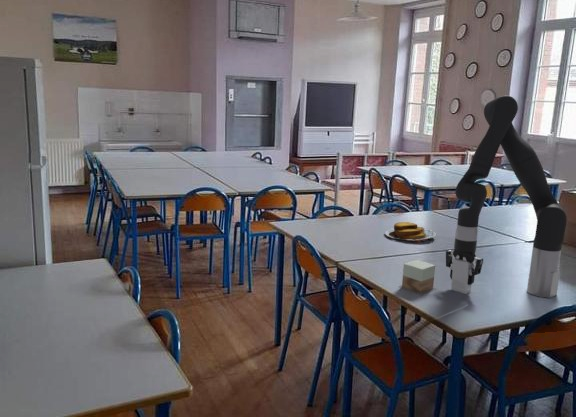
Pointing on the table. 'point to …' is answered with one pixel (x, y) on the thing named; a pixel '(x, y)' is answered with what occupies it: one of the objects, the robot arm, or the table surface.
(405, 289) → the mat
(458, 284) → the skincare box
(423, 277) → the upper block
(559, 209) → the robot arm
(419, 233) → the food on plate
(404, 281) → the lower block
